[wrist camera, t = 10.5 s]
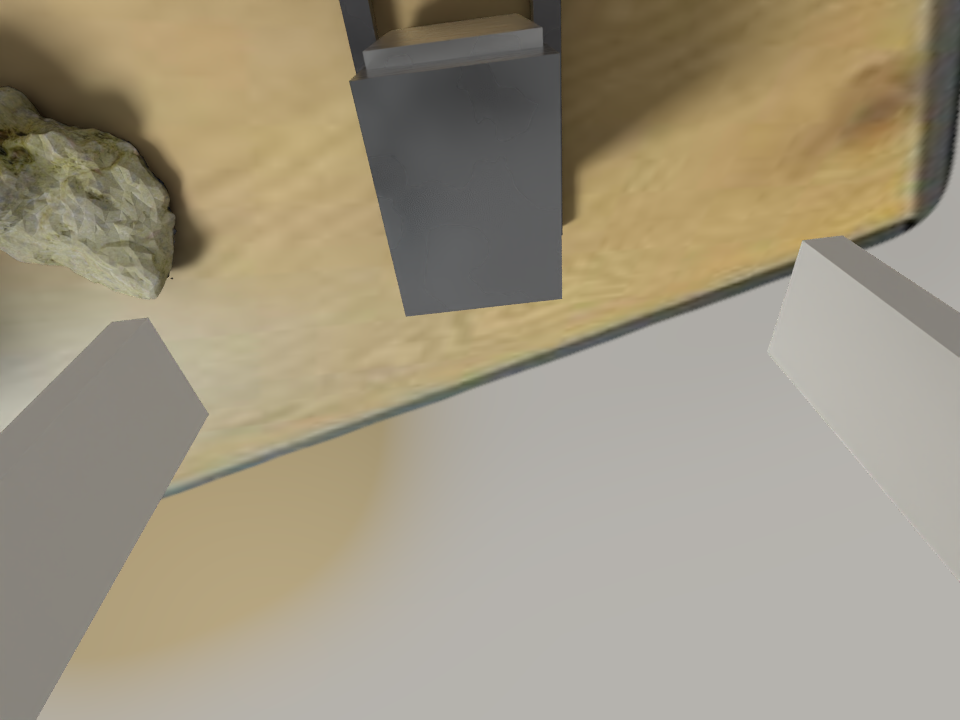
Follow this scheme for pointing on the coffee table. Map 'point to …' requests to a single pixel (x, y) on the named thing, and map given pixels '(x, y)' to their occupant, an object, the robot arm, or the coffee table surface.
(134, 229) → the rock
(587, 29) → the coffee table surface
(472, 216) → the grey stepped block
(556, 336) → the coffee table surface
